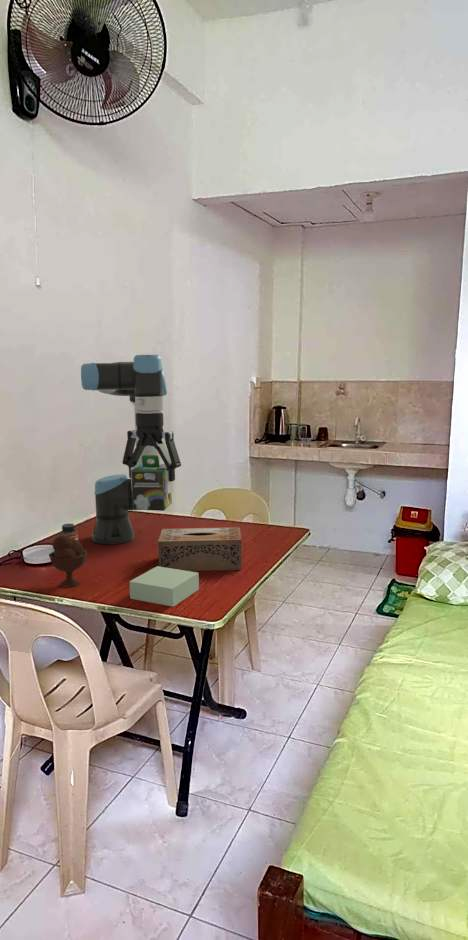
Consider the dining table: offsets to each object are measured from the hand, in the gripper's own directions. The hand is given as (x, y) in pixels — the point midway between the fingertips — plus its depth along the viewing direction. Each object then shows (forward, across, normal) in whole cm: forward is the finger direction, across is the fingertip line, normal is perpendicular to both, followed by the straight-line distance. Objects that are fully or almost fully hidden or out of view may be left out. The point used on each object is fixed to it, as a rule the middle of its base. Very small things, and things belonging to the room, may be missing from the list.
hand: (152, 491), depth 176 cm
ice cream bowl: (+29, -26, -6) cm, 40 cm away
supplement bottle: (+29, -44, +13) cm, 54 cm away
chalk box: (+5, 0, 0) cm, 5 cm away
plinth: (+29, +4, -1) cm, 29 cm away
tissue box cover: (+29, -1, +27) cm, 40 cm away
